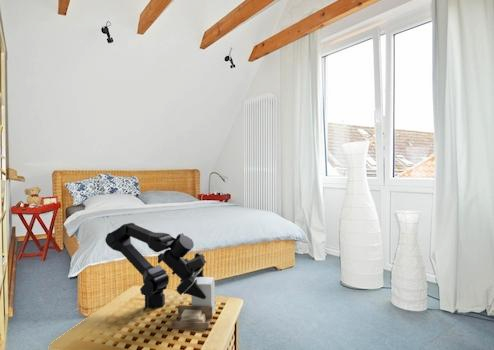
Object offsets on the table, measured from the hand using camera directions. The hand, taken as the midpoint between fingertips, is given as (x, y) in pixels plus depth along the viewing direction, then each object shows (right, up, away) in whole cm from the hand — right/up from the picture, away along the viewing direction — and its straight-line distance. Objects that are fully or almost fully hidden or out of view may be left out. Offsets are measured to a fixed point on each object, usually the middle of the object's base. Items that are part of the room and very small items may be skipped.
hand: (207, 293), depth 120 cm
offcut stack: (-4, -7, -8) cm, 11 cm away
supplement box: (-1, -8, +1) cm, 8 cm away
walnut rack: (-4, -8, -8) cm, 12 cm away
